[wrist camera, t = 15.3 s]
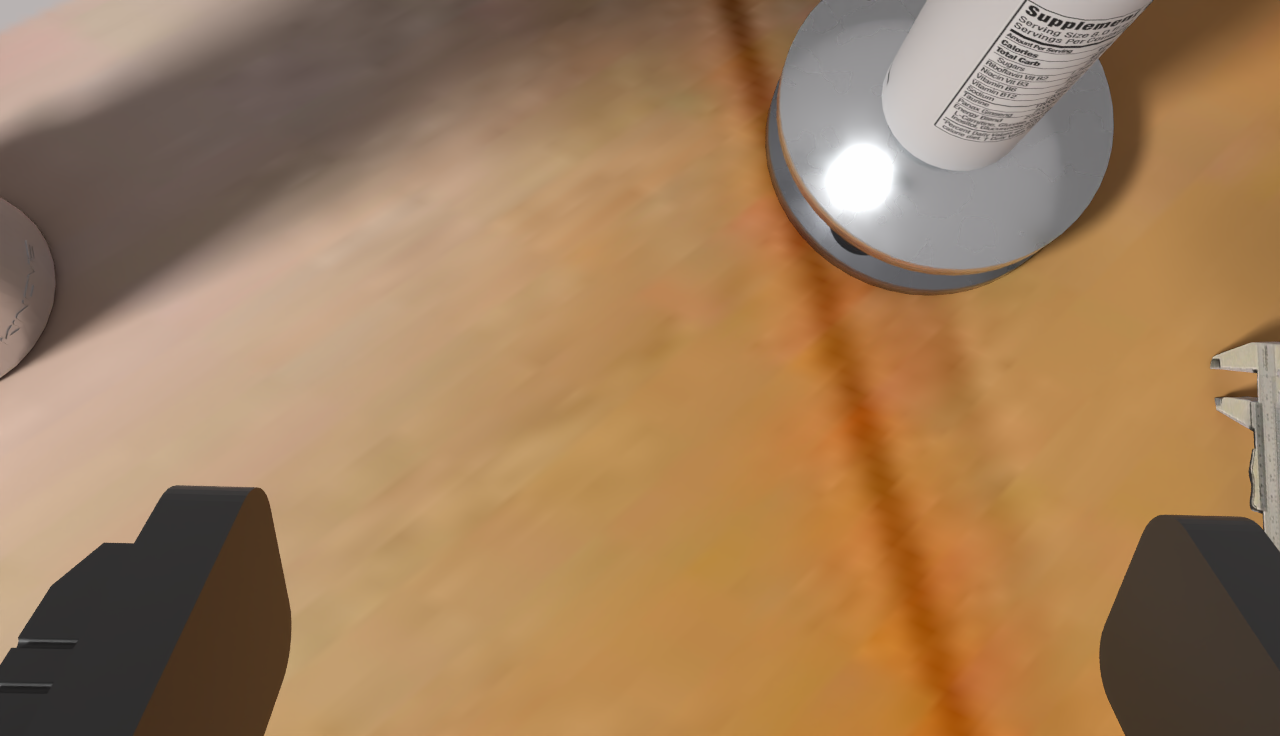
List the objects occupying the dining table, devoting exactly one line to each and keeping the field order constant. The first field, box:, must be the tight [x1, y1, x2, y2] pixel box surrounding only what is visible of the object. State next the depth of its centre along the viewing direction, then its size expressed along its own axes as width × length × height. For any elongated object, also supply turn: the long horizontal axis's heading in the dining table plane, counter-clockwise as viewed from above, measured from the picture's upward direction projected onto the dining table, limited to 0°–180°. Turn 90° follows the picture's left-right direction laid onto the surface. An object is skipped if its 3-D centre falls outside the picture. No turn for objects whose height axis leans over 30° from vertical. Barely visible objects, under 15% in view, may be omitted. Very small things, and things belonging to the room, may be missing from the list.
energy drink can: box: [882, 0, 1153, 171], centre depth 36 cm, size 6×6×15 cm
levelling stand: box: [765, 0, 1114, 295], centre depth 45 cm, size 14×14×4 cm
